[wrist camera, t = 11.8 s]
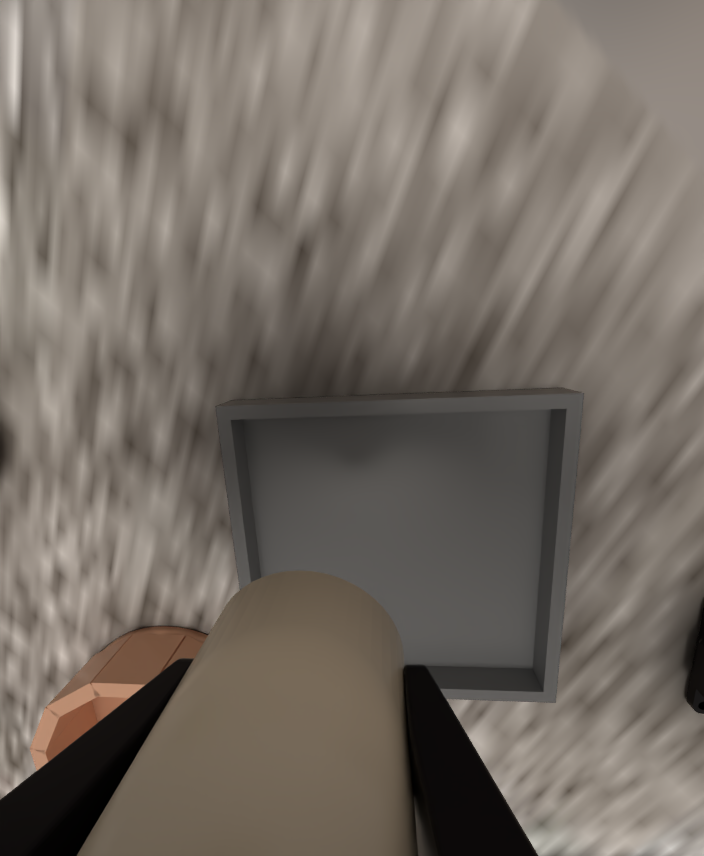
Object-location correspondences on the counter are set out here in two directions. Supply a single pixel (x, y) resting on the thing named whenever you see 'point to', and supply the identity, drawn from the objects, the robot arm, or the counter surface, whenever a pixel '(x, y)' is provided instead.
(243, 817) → the pebble
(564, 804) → the counter surface
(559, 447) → the parts tray
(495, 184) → the counter surface
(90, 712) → the bowl
